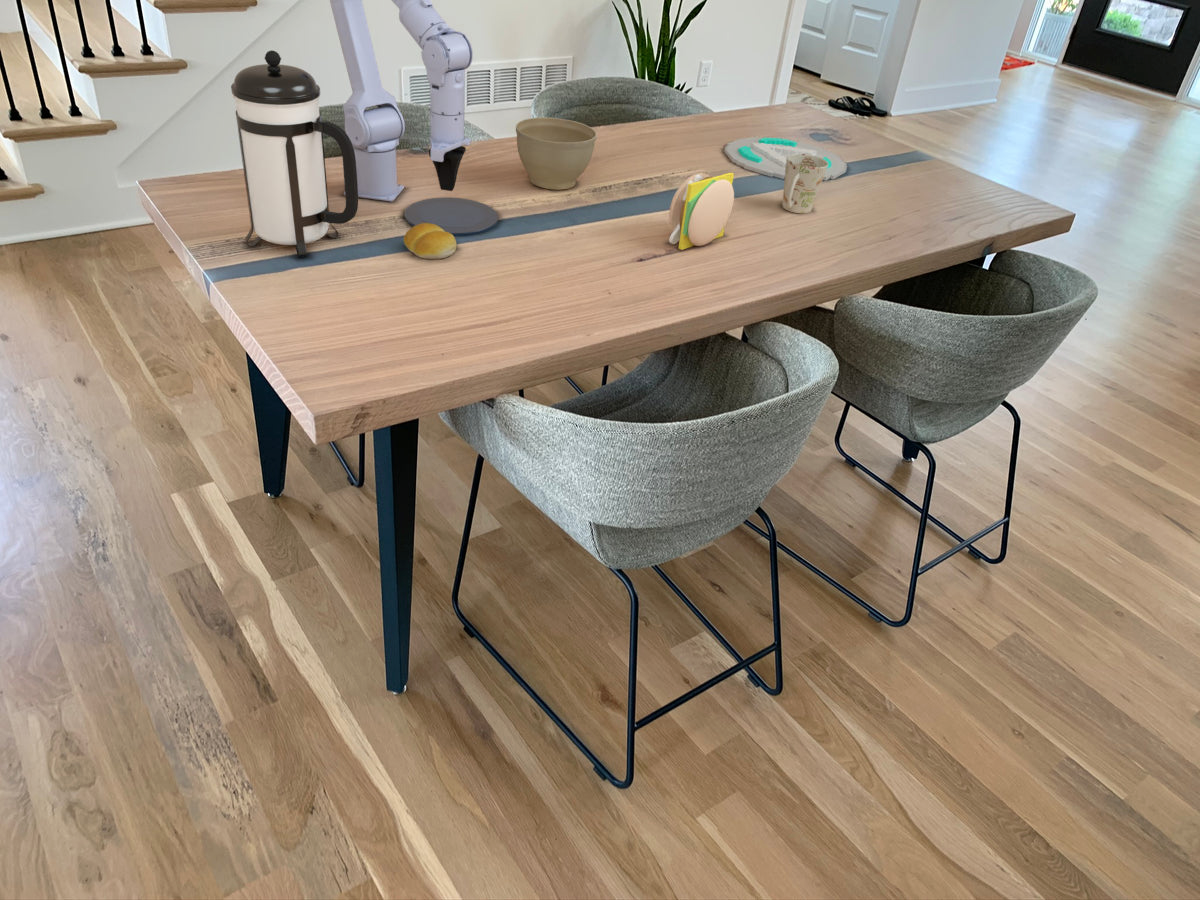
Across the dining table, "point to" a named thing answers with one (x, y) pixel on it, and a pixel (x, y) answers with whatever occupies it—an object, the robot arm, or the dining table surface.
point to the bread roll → (429, 241)
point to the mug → (802, 181)
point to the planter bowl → (554, 150)
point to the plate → (453, 215)
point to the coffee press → (288, 155)
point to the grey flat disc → (778, 155)
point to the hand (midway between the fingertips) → (447, 189)
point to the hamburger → (701, 209)
